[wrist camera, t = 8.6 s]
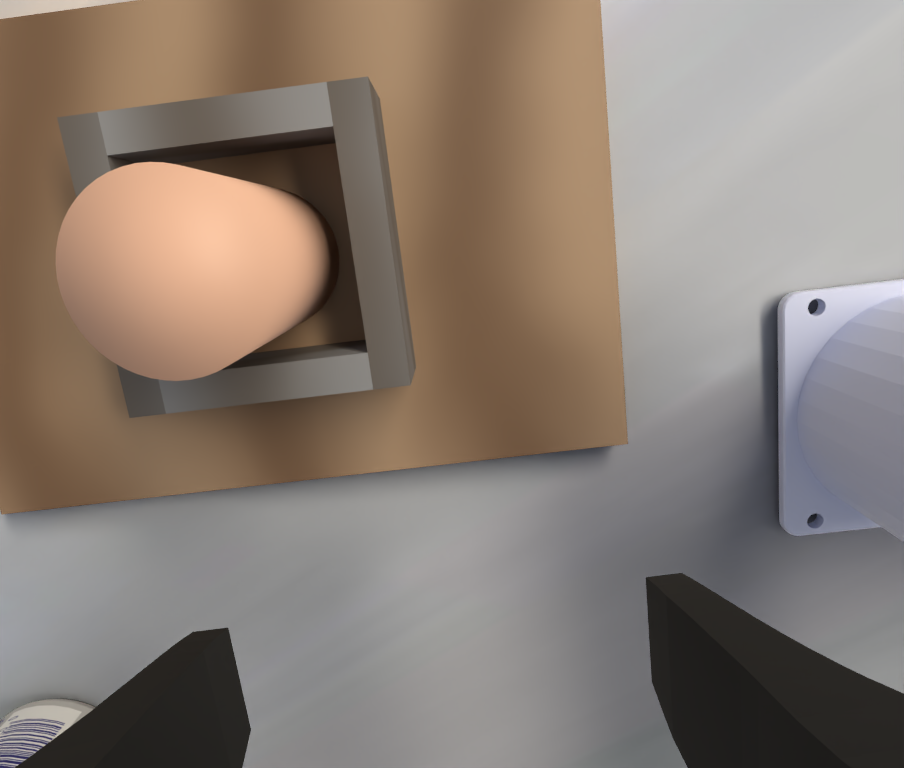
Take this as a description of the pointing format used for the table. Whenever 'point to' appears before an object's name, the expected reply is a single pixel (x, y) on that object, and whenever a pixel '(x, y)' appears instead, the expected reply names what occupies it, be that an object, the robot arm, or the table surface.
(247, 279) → the peg
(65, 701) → the energy drink
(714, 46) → the table surface
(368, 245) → the socket base
